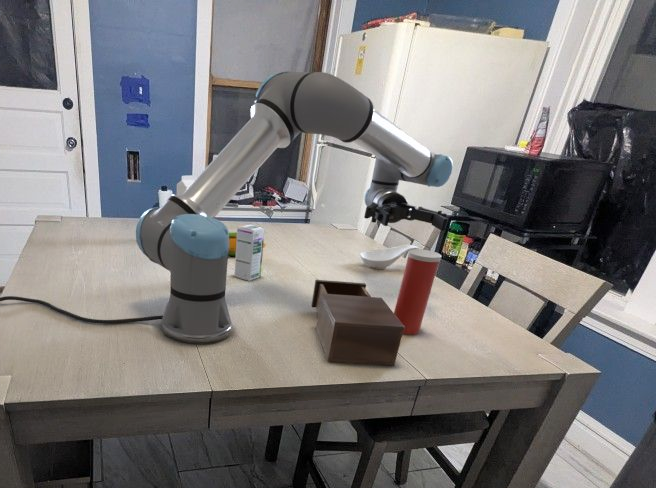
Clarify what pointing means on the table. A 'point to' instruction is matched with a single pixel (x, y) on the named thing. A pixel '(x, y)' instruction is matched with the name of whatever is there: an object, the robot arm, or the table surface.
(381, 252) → the spoon rest
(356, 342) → the cabinet
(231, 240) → the corn
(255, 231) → the syrup box
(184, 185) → the milk
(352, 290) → the drawer
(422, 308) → the crisps tube
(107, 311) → the table surface
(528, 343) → the table surface
